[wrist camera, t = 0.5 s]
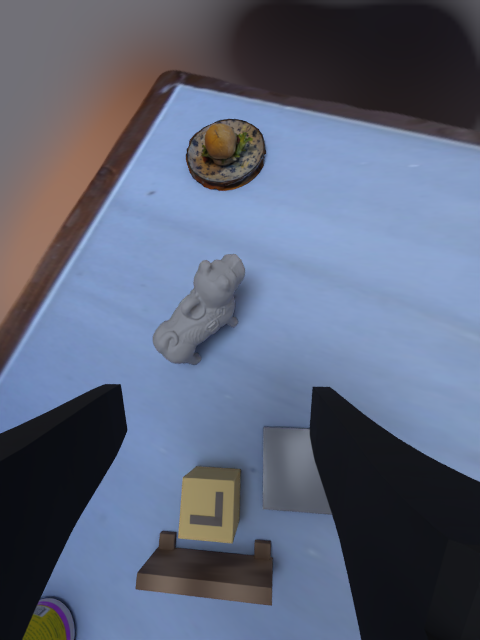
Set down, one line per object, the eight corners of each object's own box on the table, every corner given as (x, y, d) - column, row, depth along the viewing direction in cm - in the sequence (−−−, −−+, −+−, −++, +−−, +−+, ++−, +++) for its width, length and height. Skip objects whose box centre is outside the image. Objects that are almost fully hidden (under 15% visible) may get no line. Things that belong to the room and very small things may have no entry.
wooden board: (272, 541, 29) (271, 568, 25) (272, 588, 28) (271, 626, 24) (160, 530, 31) (139, 554, 26) (156, 575, 30) (133, 608, 25)
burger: (277, 138, 44) (277, 86, 37) (247, 201, 41) (241, 159, 34) (207, 122, 46) (195, 71, 39) (175, 180, 44) (155, 137, 37)
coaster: (341, 513, 29) (342, 515, 29) (263, 507, 30) (262, 509, 30) (336, 429, 32) (338, 430, 31) (263, 426, 32) (263, 427, 32)
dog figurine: (260, 300, 37) (255, 261, 27) (191, 375, 35) (156, 365, 25) (231, 275, 38) (215, 230, 28) (162, 347, 37) (119, 325, 26)
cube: (239, 520, 30) (232, 543, 26) (193, 517, 31) (177, 538, 26) (240, 468, 32) (234, 481, 27) (196, 466, 32) (182, 477, 27)
